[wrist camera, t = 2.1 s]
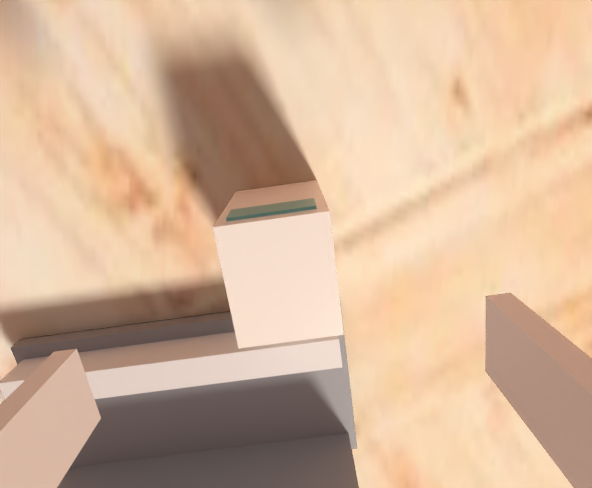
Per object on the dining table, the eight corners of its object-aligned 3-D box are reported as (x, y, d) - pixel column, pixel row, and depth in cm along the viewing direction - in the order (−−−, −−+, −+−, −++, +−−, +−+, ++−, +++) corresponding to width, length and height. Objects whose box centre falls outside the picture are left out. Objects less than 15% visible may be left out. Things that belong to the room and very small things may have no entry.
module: (235, 189, 25) (211, 224, 17) (316, 177, 24) (329, 207, 17) (252, 280, 27) (238, 348, 19) (327, 270, 26) (343, 334, 19)
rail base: (20, 339, 28) (-66, 412, 21) (338, 297, 27) (354, 358, 20) (74, 472, 31) (16, 570, 25) (355, 438, 31) (373, 528, 24)
